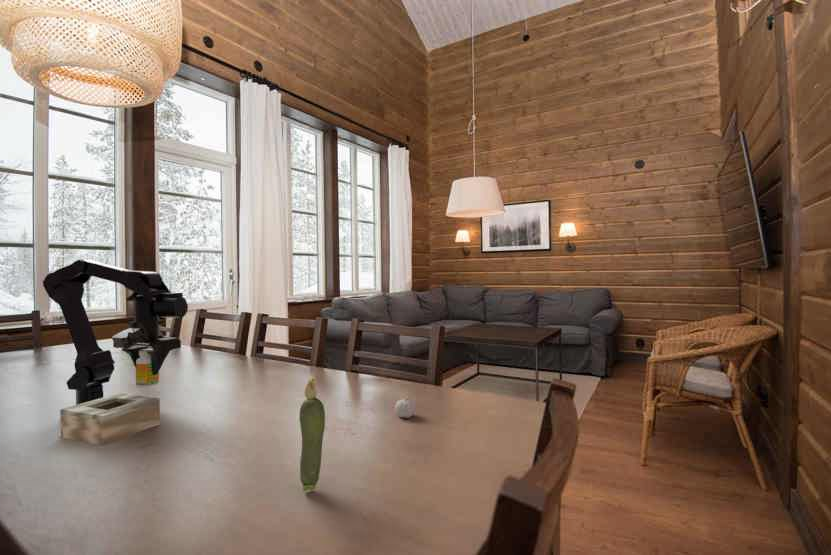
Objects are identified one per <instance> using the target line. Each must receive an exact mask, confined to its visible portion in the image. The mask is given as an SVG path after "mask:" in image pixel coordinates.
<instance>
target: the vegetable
mask: <svg viewBox="0 0 831 555" xmlns="http://www.w3.org/2000/svg"><path fill="white" fill-rule="evenodd" d="M317 394H318V393H317V389H316V384H315V378H310V379H309V380H308V383H307V384H306V386H305V388H304V396H305V398H306V399H305V400H303V402H302V404H301V406H300V409H299V423H300V424H299V425H300V432H301V456H300V460H299V461H300V463H299V467H300V469H299V476H300V481H301V484H302V490H303V492H304V491H306V490H312V489H315V490H316V487H317V483H318V482H319V479H320V472H321V465H322V450H323V438H324V434H325V428H326V427H325V426H326V425H325V424H326V412H325V406H324V403H323V402H322V400H321V399H319V398H317ZM312 491H313V490H312ZM306 492H307V491H306Z"/></svg>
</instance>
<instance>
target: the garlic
mask: <svg viewBox="0 0 831 555" xmlns="http://www.w3.org/2000/svg"><path fill="white" fill-rule="evenodd" d="M394 412H395V413H396V415H397V416H399V417H400V418H403V419H409V418H411V417H412V416H413V415H414V414H415V413H416V405H415V402H413V401H412V397H405V398H402V399H400V400H397V401H396V403H395V405H394Z"/></svg>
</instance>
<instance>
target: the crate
mask: <svg viewBox="0 0 831 555" xmlns="http://www.w3.org/2000/svg"><path fill="white" fill-rule="evenodd" d="M160 400H161V399H160V397H154V396H153V397H151V396H146V395H145V396H144V395H137V394H129V393H123V392H118V393H114V394H112V395H107V396H103V398H100V399H96V400H92V401H89V402H85V403H82V404H78V405H76V404H74V405H72V406H68V407H64V408H60V409H59V412H60V417H59V418H60V421H59V422H60V438H62V439H68V440H73V441H79V442H83V443H88V444H93V445H99V446H105V445H109V444H112V443H113V442H114V443H115V442H116V441H119V440H121V439H125V438H126V437H129V436H132V435H135V434H138V433H140V432H143V431H145V430H148V429H150V428H153V427H156V426H159V425H160V424H161V410H160V409H161V405H160V404H161V402H160Z"/></svg>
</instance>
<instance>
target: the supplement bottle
mask: <svg viewBox="0 0 831 555" xmlns="http://www.w3.org/2000/svg"><path fill="white" fill-rule="evenodd" d="M151 350H153V349H152V348H148V349H142V350H139V356H140V358H138V359H137V360H136V368H135V387H138V388H152V387H155V386H157V385H159V383H160V382H159V381H160V371H159V372H158V374H156V375H153V372H152V363H151V356H150V355H149V354H148V353H147V352H146V351H151Z"/></svg>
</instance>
